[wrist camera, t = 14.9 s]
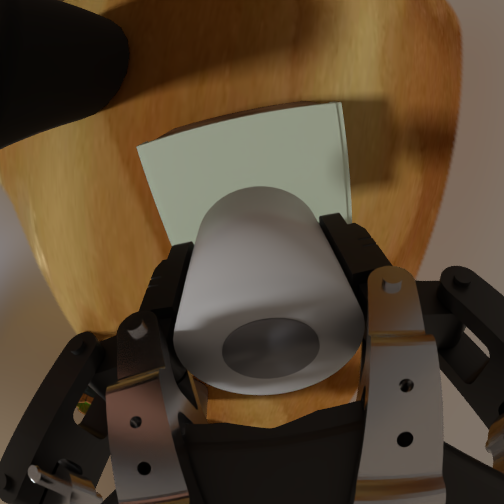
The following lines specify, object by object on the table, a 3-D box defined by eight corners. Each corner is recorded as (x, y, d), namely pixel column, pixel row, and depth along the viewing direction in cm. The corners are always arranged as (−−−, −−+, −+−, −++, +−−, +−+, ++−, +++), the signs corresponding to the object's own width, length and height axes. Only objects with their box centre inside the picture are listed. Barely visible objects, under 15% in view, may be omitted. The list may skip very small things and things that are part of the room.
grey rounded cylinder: (180, 202, 10) (138, 298, 5) (313, 175, 9) (373, 255, 5) (216, 300, 12) (209, 404, 8) (323, 280, 12) (357, 379, 8)
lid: (181, 251, 22) (171, 281, 19) (143, 142, 17) (121, 156, 14) (346, 218, 21) (364, 244, 18) (334, 101, 16) (356, 104, 13)
